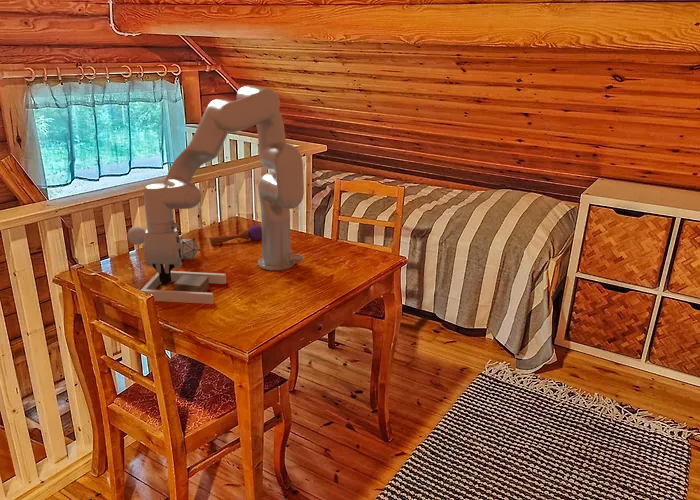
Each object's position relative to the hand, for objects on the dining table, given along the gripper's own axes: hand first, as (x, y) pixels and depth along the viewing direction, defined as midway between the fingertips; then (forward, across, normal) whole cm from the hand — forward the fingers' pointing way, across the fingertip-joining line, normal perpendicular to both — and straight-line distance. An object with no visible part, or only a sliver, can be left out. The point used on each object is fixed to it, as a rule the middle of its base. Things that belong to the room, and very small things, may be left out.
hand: (165, 283), depth 172 cm
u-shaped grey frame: (+2, -6, 0) cm, 6 cm away
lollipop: (+2, +14, -14) cm, 20 cm away
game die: (+2, +2, -25) cm, 25 cm away
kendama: (+3, -11, -45) cm, 46 cm away
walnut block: (+2, -8, 0) cm, 8 cm away
